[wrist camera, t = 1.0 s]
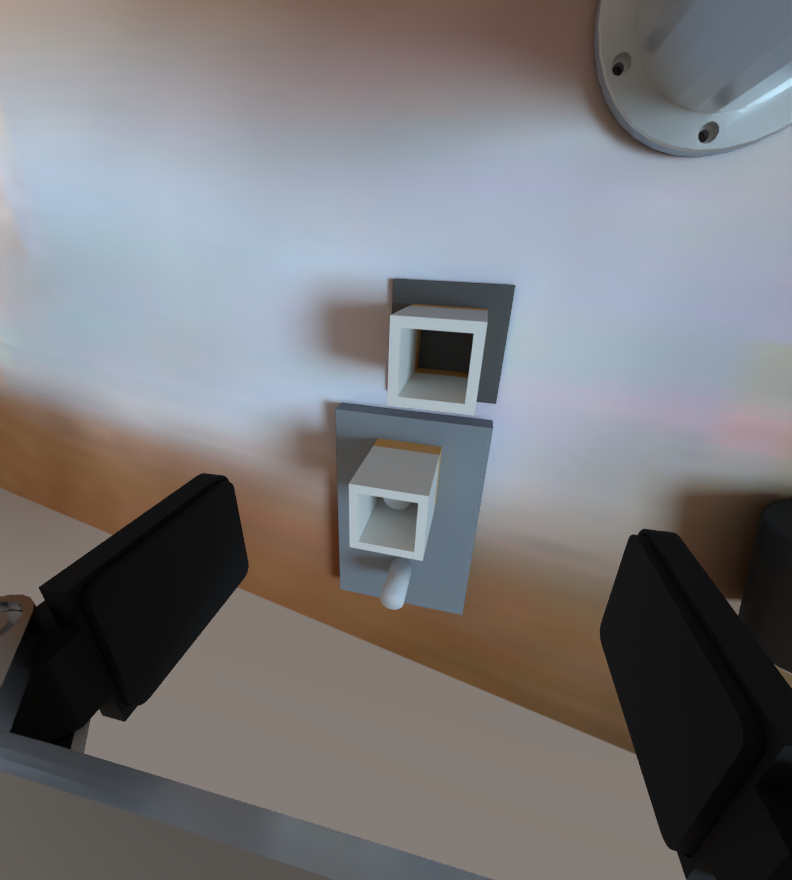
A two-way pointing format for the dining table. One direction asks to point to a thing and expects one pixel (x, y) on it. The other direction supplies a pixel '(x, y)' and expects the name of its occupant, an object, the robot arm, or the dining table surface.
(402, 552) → the seated sleeve
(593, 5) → the dining table surface
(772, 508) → the end cap
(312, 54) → the dining table surface
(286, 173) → the dining table surface
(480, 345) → the sleeve
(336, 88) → the dining table surface
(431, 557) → the pin board
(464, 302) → the mat
